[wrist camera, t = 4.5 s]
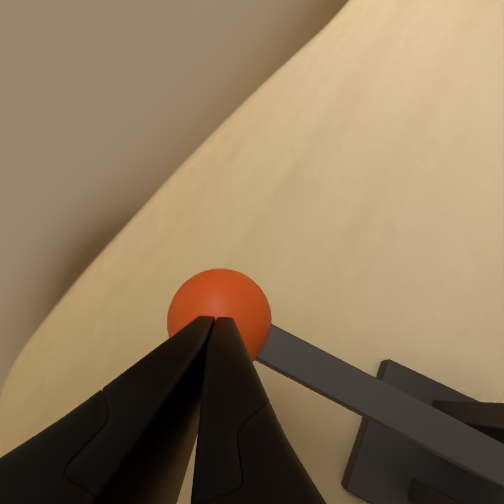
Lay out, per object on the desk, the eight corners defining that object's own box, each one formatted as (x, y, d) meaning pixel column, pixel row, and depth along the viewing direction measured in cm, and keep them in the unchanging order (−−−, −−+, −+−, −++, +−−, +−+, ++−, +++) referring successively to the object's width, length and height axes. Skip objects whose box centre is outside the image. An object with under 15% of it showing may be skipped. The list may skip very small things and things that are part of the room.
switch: (155, 346, 12) (135, 339, 9) (201, 267, 13) (198, 236, 10) (594, 579, 11) (742, 661, 8) (603, 473, 12) (736, 510, 9)
